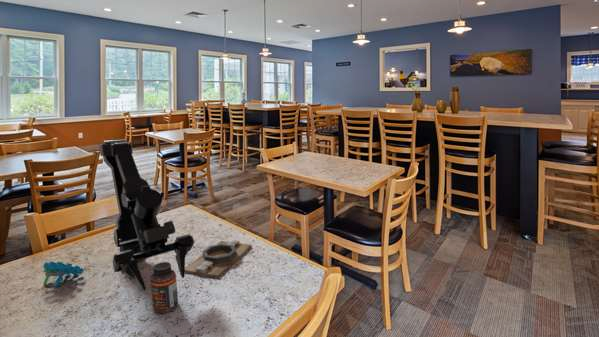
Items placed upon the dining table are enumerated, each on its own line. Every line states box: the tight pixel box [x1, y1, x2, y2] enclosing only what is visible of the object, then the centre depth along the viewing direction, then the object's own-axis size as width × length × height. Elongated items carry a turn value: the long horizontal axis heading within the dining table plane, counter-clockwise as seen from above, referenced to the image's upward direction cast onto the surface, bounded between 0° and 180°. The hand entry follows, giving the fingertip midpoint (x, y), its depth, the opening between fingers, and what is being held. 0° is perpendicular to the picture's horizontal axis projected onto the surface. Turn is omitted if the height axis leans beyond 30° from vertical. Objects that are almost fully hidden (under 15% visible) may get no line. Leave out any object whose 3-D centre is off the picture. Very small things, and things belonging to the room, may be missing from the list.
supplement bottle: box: [149, 261, 179, 314], centre depth 83 cm, size 6×6×11 cm
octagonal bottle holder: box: [185, 239, 253, 279], centre depth 109 cm, size 12×22×3 cm, turn 162°
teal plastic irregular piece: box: [42, 261, 85, 287], centre depth 95 cm, size 11×6×10 cm
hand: (164, 283), depth 82 cm, fingers open, 9 cm apart
